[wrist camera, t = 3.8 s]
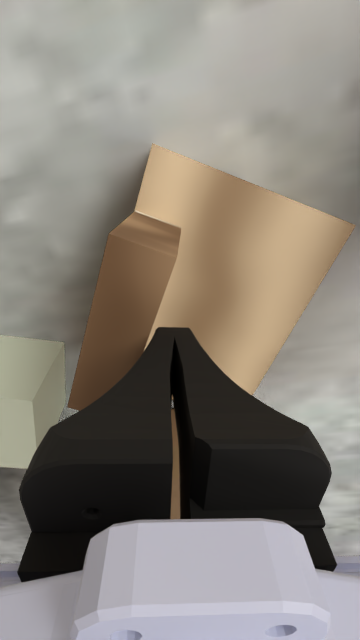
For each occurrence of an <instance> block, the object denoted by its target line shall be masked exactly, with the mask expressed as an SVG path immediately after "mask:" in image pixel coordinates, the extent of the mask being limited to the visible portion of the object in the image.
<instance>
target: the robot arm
mask: <svg viewBox="0 0 360 640" xmlns="http://www.w3.org/2000/svg"><path fill="white" fill-rule="evenodd" d="M172 395H173V403H174V411H175V419H176V428H177V436H178V447H179V482H180V519H170V517H171V495H172V472H173V438H172V421H171V402H172ZM331 474H332V472H331V467H330V463H329V461H328V460H327V458H326V456H325V454H324V452H323V450H322V448H321V446H320V445H319V443H318V441H317V440H316V438H315V437H314V435H313V434H312V432H311V431H310V429H309V427H307V426H305V425H303V424H301V423H299V422H297V421H295V420H293V419H291V418H289V417H287V416H285V415H283V414H281V413H279V412H277V411H276V410H274V409H272V408H271V407H269V406H267V405H266V404H264V403H262V402H261V401H259V400H258V399H256V398H255V397H253V396H252V395H250V394H249V393H248V392H246V391H245V390H244V389H242V388H241V387H240V386H238V385H237V384H236V383H235V382H234V381H232V380H231V379H230V378H229V377H228V376H227V375H226V374H225V373H224V372H223V371H222V370H221V369H220V368H219V367H218V366H217V365H216V364H215V363H214V361H213V360H212V359H211V358H210V357H209V355H208V354H207V353H206V351H205V350H204V349H203V348H202V346H201V345H200V343H199V342H198V340H197V339H196V337H195V336H194V334H193V332H192V330H191V329H190V328H189V327H158V328H157V329H156V330H155V333H154V335H153V337H152V339H151V341H150V343H149V344H148V346H147V347H146V349H145V350H144V352H143V354H142V355H141V356H140V358H139V359H138V360H137V361H136V363H135V364H134V365H133V367H132V368H131V369H130V370H129V371H128V372H127V373H126V374H125V375H124V376H123V377H122V378H121V379H120V381H118V382H117V383H116V384H115V385H114V386H113V387H112V388H111V389H110V390H108V391H107V392H106V393H105V394H104V395H102V396H101V397H100V398H99V399H97V400H96V401H94V402H93V403H91V404H90V405H88V406H87V407H85V408H84V409H82V410H81V411H79V412H77V413H76V414H74V415H72V416H70V417H68V418H67V419H65V420H63V421H61V422H59V423H58V424H56V425H54V426H52V427H50V428H49V430H48V432H47V433H46V435H45V436H44V438H43V440H42V441H41V443H40V445H39V446H38V448H37V450H36V451H35V453H34V455H33V457H32V459H31V462H30V464H29V466H28V469H27V471H26V473H25V476H24V478H23V480H22V483H21V486H20V489H19V493H20V500H21V503H22V506H23V509H24V511H25V514H26V517H27V520H28V523H29V525H30V528H31V531H32V532H31V535H30V537H29V540H28V543H27V546H26V549H25V551H24V554H23V557H22V560H21V562H20V563H0V640H360V555H359V556H333V553H332V551H331V548H330V546H329V543H328V541H327V539H326V536H325V534H324V531H323V529H322V528H324V526H325V520H324V517H323V515H322V513H321V510H320V508H319V505H320V502H321V500H322V498H323V496H324V493H325V491H326V489H327V487H328V484H329V482H330V478H331Z"/></svg>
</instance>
